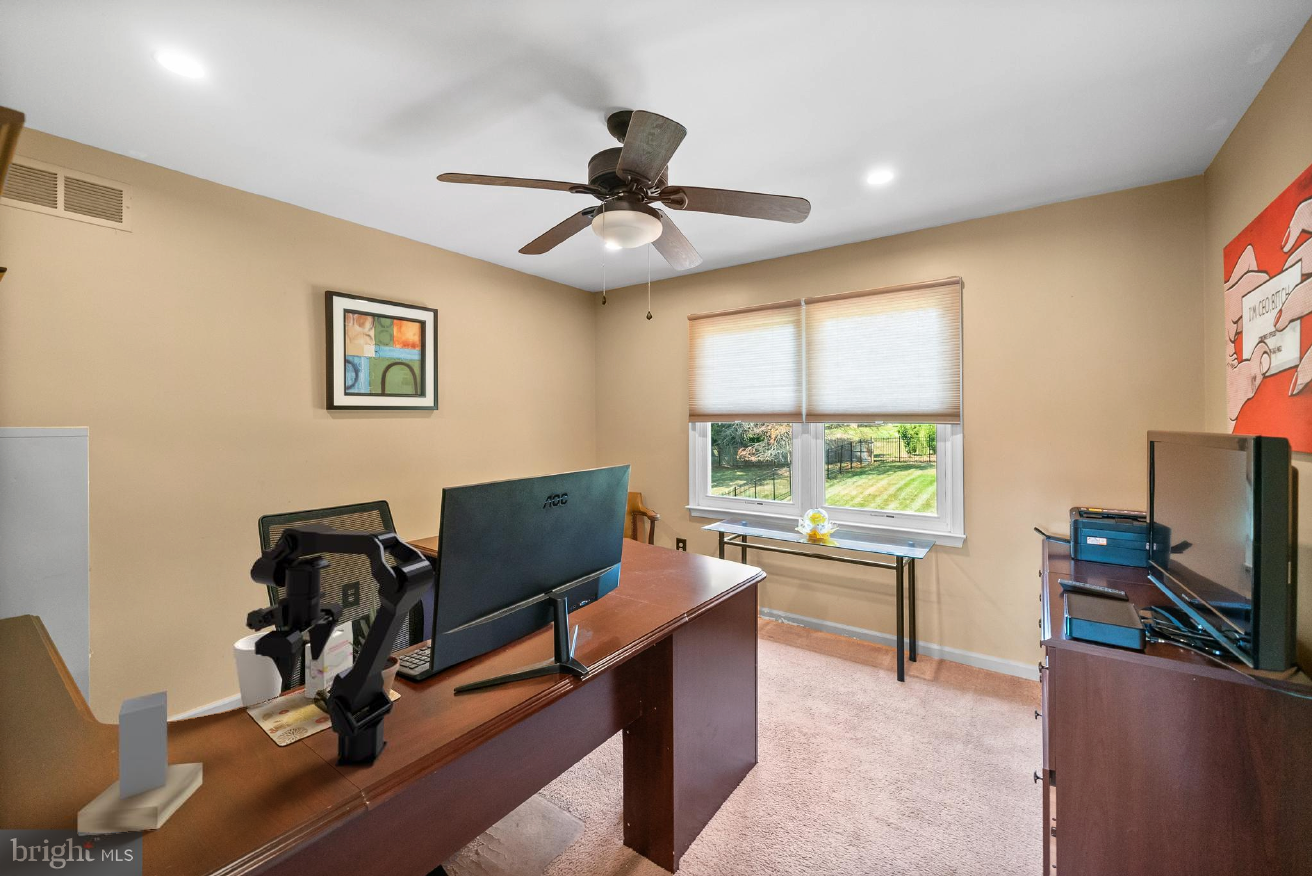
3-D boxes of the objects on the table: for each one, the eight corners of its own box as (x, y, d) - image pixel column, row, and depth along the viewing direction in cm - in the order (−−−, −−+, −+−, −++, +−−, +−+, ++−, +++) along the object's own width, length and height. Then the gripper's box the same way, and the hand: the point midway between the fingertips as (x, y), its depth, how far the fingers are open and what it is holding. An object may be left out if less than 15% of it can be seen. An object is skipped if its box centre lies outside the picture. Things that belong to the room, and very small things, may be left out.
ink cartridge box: (334, 679, 123) (335, 617, 123) (353, 681, 122) (354, 619, 122) (303, 697, 115) (304, 631, 114) (322, 700, 114) (324, 634, 113)
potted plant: (396, 681, 123) (398, 577, 123) (401, 700, 115) (403, 589, 114) (346, 691, 118) (348, 583, 117) (348, 712, 110) (350, 596, 109)
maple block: (202, 785, 88) (202, 762, 88) (157, 832, 78) (157, 805, 78) (132, 791, 86) (132, 767, 86) (77, 839, 76) (77, 812, 76)
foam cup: (296, 687, 119) (297, 631, 118) (273, 709, 110) (273, 648, 109) (249, 689, 117) (250, 632, 117) (222, 712, 108) (223, 650, 108)
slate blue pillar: (167, 768, 86) (166, 690, 85) (165, 785, 82) (164, 703, 82) (124, 781, 83) (123, 700, 82) (119, 799, 79) (118, 714, 78)
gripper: (288, 575, 109) (287, 649, 109) (222, 607, 90) (221, 696, 91) (344, 576, 110) (343, 649, 110) (290, 607, 91) (289, 696, 92)
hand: (301, 670), depth 101 cm, fingers open, 9 cm apart
